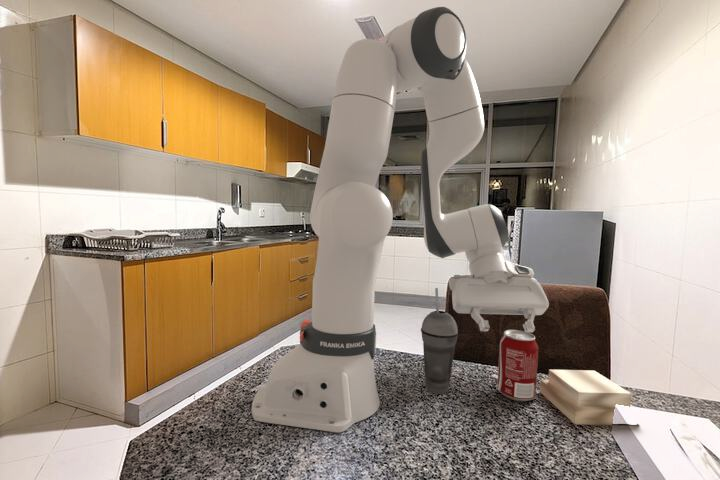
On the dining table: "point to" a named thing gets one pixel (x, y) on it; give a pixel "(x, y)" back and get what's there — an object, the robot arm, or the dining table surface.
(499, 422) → the dining table surface
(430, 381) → the beverage cup
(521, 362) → the soda can
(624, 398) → the cream stepped square block
